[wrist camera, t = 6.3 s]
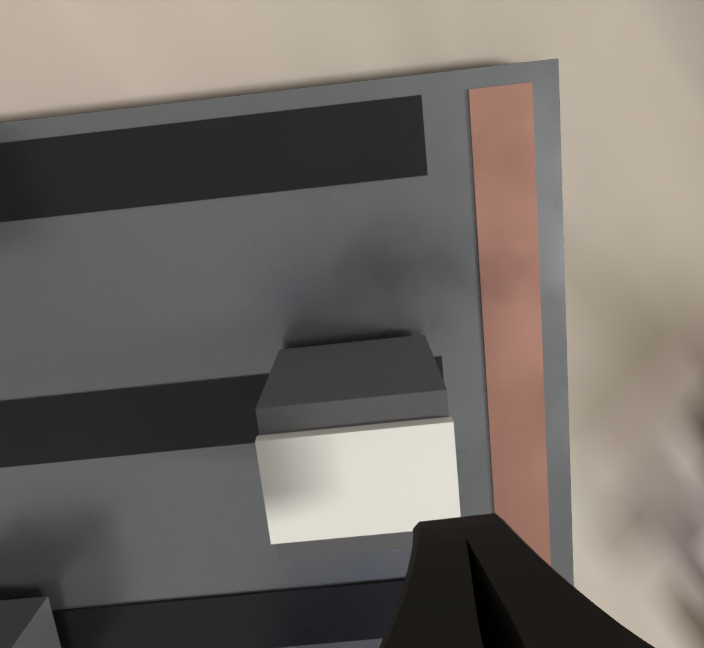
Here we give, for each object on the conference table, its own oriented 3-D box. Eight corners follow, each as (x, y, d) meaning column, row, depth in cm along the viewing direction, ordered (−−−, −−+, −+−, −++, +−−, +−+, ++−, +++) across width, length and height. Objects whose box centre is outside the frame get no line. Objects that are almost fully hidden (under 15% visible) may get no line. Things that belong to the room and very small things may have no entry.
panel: (561, 626, 22) (576, 662, 21) (-123, 686, 23) (-158, 725, 21) (541, 66, 18) (559, 57, 16) (-302, 163, 19) (-362, 164, 17)
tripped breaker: (436, 455, 19) (463, 551, 14) (294, 469, 19) (274, 568, 14) (426, 334, 18) (451, 394, 13) (277, 349, 18) (250, 414, 13)
